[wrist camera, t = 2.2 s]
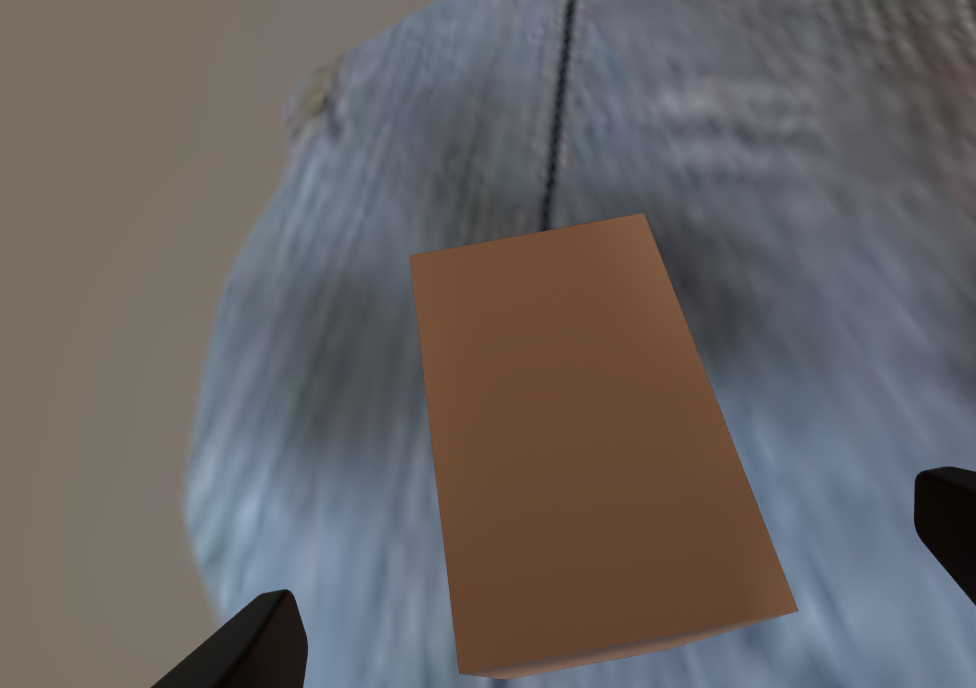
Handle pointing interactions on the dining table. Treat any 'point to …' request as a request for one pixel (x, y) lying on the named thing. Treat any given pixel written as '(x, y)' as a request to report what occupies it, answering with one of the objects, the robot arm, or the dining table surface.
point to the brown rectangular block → (581, 456)
